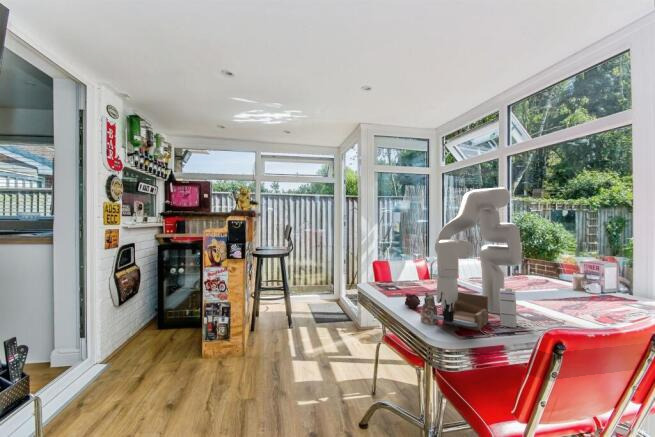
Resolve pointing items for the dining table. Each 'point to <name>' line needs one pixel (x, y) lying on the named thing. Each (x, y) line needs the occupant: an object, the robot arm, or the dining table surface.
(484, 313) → the brown wooden box
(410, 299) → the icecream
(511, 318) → the syrup box
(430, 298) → the figurine
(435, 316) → the panel
